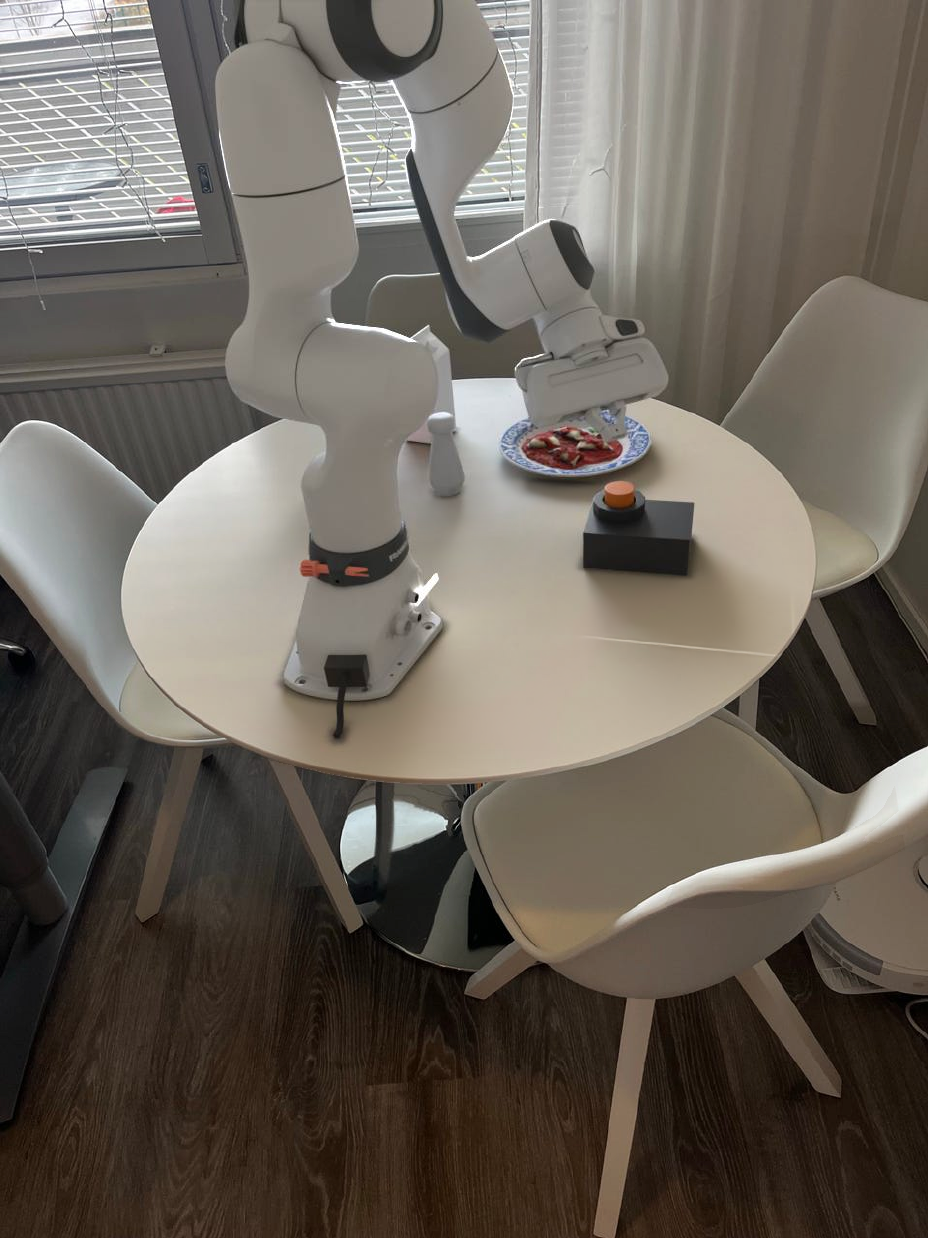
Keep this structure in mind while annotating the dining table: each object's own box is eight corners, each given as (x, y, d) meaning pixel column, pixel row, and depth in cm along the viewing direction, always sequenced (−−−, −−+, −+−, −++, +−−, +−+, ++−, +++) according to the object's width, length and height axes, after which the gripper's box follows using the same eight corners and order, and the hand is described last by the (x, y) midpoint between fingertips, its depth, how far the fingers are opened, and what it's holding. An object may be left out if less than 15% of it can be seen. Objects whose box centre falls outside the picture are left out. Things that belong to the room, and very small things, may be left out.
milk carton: (404, 441, 158) (391, 337, 147) (422, 425, 163) (411, 323, 152) (439, 445, 155) (428, 340, 144) (456, 429, 160) (447, 326, 149)
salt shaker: (467, 481, 144) (461, 407, 136) (464, 498, 139) (457, 422, 131) (432, 482, 144) (424, 408, 137) (428, 499, 140) (419, 423, 132)
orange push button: (635, 495, 121) (636, 481, 120) (632, 509, 118) (632, 495, 117) (606, 493, 122) (606, 480, 121) (602, 507, 119) (602, 493, 118)
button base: (691, 537, 125) (695, 490, 120) (687, 576, 117) (691, 528, 112) (593, 530, 128) (593, 485, 124) (583, 568, 121) (583, 521, 116)
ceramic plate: (553, 503, 136) (553, 486, 134) (472, 446, 154) (470, 430, 152) (683, 456, 145) (684, 440, 143) (591, 408, 163) (591, 392, 161)
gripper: (516, 350, 111) (556, 449, 109) (651, 317, 117) (691, 410, 116) (502, 374, 117) (540, 467, 115) (631, 341, 123) (668, 430, 122)
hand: (616, 439), depth 116 cm, fingers closed
